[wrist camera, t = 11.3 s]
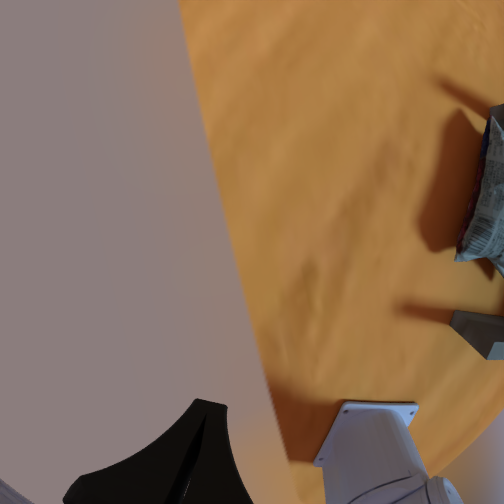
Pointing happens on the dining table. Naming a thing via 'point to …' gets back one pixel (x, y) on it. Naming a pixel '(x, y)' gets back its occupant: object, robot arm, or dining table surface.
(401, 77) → the dining table surface
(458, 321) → the grey u-shaped bracket
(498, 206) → the packaged food
